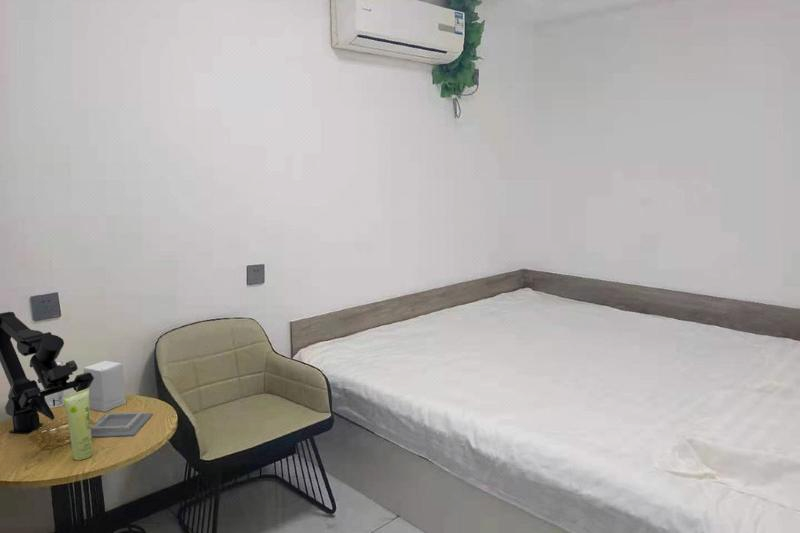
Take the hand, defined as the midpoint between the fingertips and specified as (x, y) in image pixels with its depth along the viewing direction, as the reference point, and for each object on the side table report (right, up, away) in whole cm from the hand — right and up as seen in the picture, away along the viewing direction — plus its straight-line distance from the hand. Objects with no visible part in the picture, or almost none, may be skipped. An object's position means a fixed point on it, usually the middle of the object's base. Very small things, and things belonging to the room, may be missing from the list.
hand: (70, 413), depth 158 cm
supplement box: (-9, -7, +36) cm, 37 cm away
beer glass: (-27, -7, +37) cm, 46 cm away
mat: (+4, -9, +19) cm, 22 cm away
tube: (+4, -13, 0) cm, 13 cm away
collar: (+4, -9, +19) cm, 22 cm away
